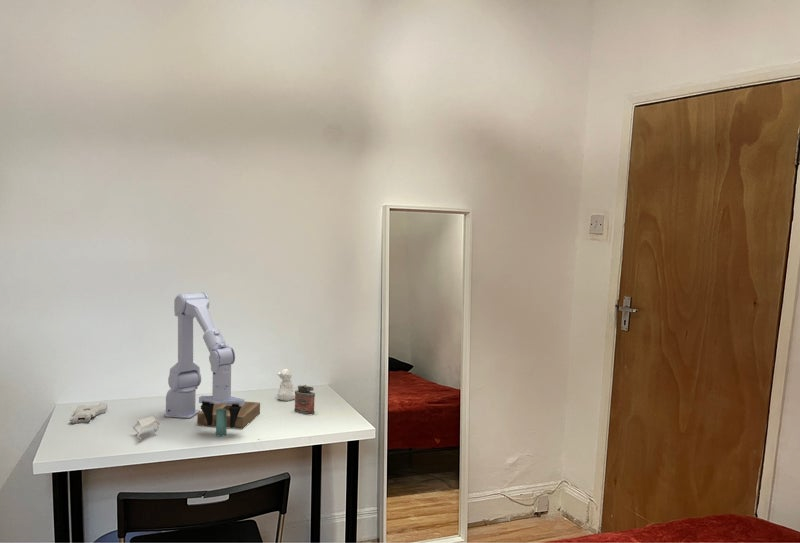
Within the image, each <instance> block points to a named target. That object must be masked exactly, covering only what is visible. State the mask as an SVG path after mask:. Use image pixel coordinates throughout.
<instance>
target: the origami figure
mask: <svg viewBox="0 0 800 543" xmlns="http://www.w3.org/2000/svg"><path fill="white" fill-rule="evenodd" d="M154 424H156V426H155V427H154V428H153V431H154V435H155V436H157V434H156V433H157V430H158V429H159V428H160V423H159V421H158V420H157V418H156V416H155V415H154V416H150V417H147V418H146V417H145V418H143V419H136V423H135V424H133V426H132V429H133V431H135V432H136V433H135V434H134V436H136V438H137V439H139V440H138V441H137V442H138V443H140V442H141V441H142V440H143V439H142V438H141V437H140V434H141V433H142V432H143V429H146V428H148V427H151V426H152V425H154ZM137 426H139V427H140V430H139V431H138V430H137V429H136V427H137Z"/></svg>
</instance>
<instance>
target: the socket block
mask: <svg viewBox="0 0 800 543" xmlns="http://www.w3.org/2000/svg"><path fill="white" fill-rule="evenodd" d="M231 406H232V405H225V404H214V407H213V423H212V425H210V426H208V424H207V420H206V417H205V415H204V413H203V411H202V410H200V412H198V413H197V414H196V417H197V419H196V420H197V421H196V422H197V423H196V425H197V426H202V425H204V427H214V426H216V410H217V409H226V410H227V420H226V427H230V411H229V408H230V407H231ZM258 414H259V415H260V414H261V402H255V401H245V400H244V405H243V406H242V407H241V409H240V411H239V413H238V416H237V419H236V422H235V426H234V427H233V428H232V429H238V428H244V427H245V426H246V425H247V424H248V423H249V424H250V423H251V422H252V421H253V420H255V419H256V418H257V417H258V416H259V415H258ZM257 415H258V416H257ZM256 416H257V417H256ZM255 417H256V418H255ZM249 424H248V425H249ZM248 425H247V426H248ZM247 426H246V427H247ZM246 427H245V428H246ZM245 428H244V429H245Z"/></svg>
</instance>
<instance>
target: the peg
mask: <svg viewBox="0 0 800 543" xmlns="http://www.w3.org/2000/svg"><path fill="white" fill-rule="evenodd" d="M226 420H227V410H226V409H217V410H216V427H215V435H216V436H217V435H219V436H218V437H223V436H222V435H224V436H226V435H227V428H226ZM225 434H226V435H225Z"/></svg>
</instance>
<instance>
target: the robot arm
mask: <svg viewBox="0 0 800 543" xmlns="http://www.w3.org/2000/svg"><path fill="white" fill-rule="evenodd" d="M209 299H210V298H209V296H208V294H207V293H206V292H202V291H201V292H195V293H178V294H177V295H176V296H175V298H174V306H173V308H174V316H175V317H177V363H175V364H173V366H171V367H170V368H169V375H168V377H167V379H168V380H167V382H168V386H169V388H170V389H168V390H167V391H166V394H165V395H166V396H165V414H164V417H168V418H169V417H170V418H181V419H192V418H193V417H194V416H197V413H199V412H200V411H203V413H204V415H205V417H206V420H207V424H208V426H207V427H211V426H210V425H212V423H213V407H214V404H225V405H232V406H231V407H230V408H229V411H230V429H234V428H233V427H234V426H235V422H236V419H237V416H238V413H239V411H240V409H241V407H242V406H243V405H244V401H245V398H241V397H240V398H239V397H235V396H232V365H234V363H235V362H236V354H235V353H236V352H235V351H234V348H233V347H232V346H230V344H227V343H226V341H225V339H224V337H223V334H222V333H221V330H220V329H218V328H215V325H214V322H213V320H212V316H211V314H210V311H209V307H210V300H209ZM194 318H195V319H196V321H197V323H198V324H199V326H200V327H201V329H202V331H203V333H204V334H203V335H202V340H203V342H204V343H205V345H206V348H207V350H208V351H209V356H208V359H209V360H208V361H209V363H210V364H209V365H210V370H211V371H210V372H212V389H211V390H212V392H211V393H212V395H201V396H199V397H198V404H201V405H200V409H201V410H200V409H196V394H197V393H196V391H197V390H198V387H199V386H200V385H201V383H202V375H201V369H200V366H199V365H198V364H196V363H195V362H194Z"/></svg>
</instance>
